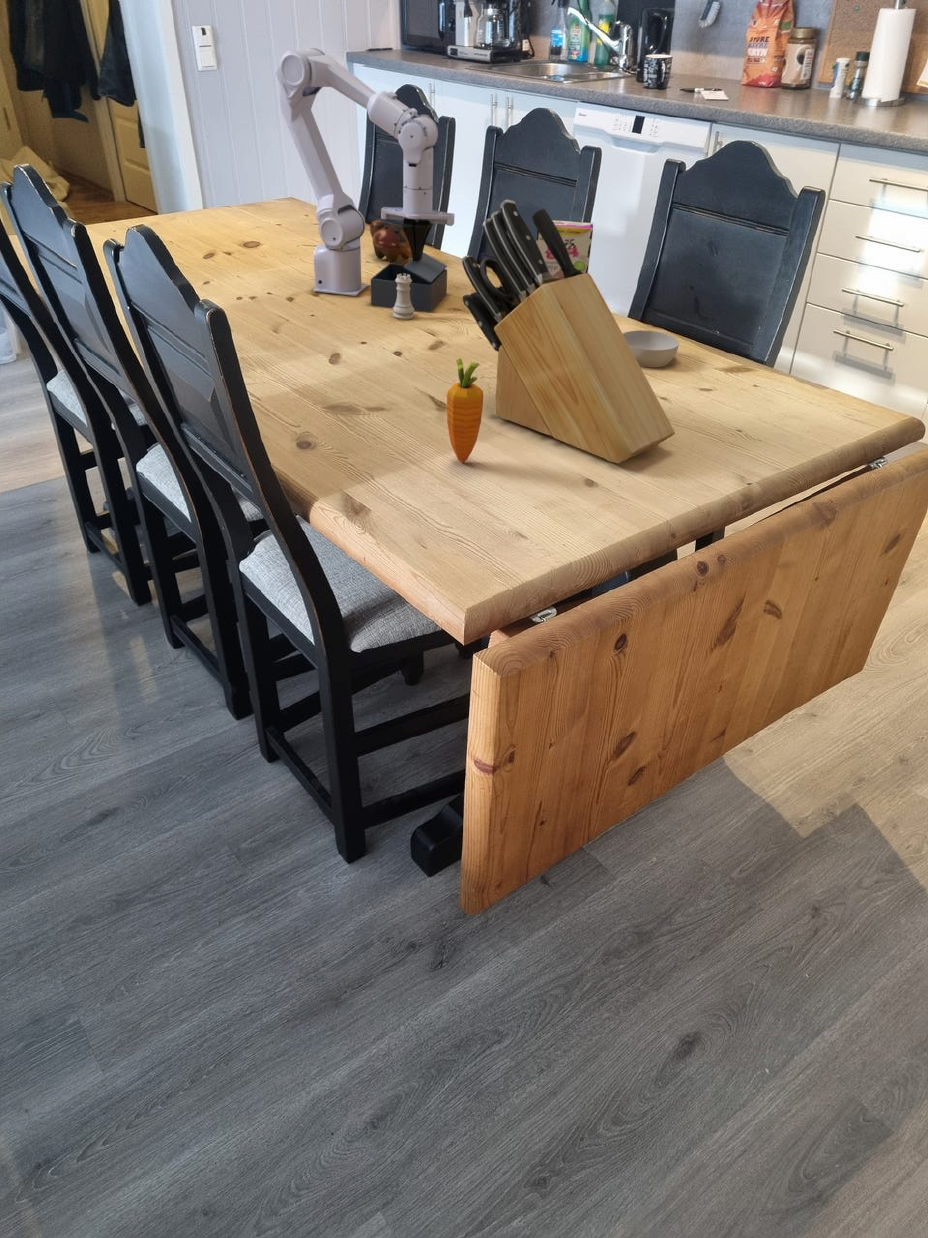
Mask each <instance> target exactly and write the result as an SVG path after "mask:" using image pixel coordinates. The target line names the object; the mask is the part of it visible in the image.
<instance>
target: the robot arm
mask: <svg viewBox="0 0 928 1238" xmlns="http://www.w3.org/2000/svg"><path fill="white" fill-rule="evenodd" d="M275 75H276V77H277V80H278V83H279V102H280V105H279V106H280V110H281V113H282V115H283V118H284V121H285V123H286V126H287V128H288V132H289V134H290V135H291V138H292V140H293V144H294V145H295V148H296V150H297V153H298V155H299V158H300V161H301V162H302V165H303V167H304V171H305V173H306V175H307V178H308V180H309V183H310V185H311V187H312V189H313V190H312V191H313V192H314V194H315V197H316V200H317V206H316V211H315V216H316V219H317V222H318V234H319V237H320V239H321V241H322V243H319V244H317V245H316V246H315V248H314V252H313V273H314V274H313V275H314V288H313V292H316V293H325V294H332V295H333V294H334V295H343V296H350V297H351V296H352V297H357V296H358V295H360V294H361V293H362V292H363V291H364V290H366V289H367V288H368V287H369V284H368V283H362V251H361V250H362V248H361V237H363V235H364V233H365V231H366V220H365V217H364V215H363V214H362V212H360V210H359V209H358V208H357V207H356V205H355V203H354V200H353V199H352V197H350V196H349V195H348V194H347V193H345V192H344V191H343V187H342V185H341V182H340V180H339V177H338V175H337V173H336V170H335V167H334V164H333V162H332V160H331V157H330V153H329V152H328V150H327V146H326V144H325V142H324V140H323V137H322V134H321V131H320V129H319V127H318V124H317V122H316V118H315V117H314V114H313V111H312V107H313V105H314V102H315V100H316V97H317V95H318V94H319V92H320V91H321V90H322V89H323V88H332V89H334V90H335V91H337V92H339V94H341V95H343V96H345V97H346V98H348V99H350V100H351V101H352V102H354V103H356V104H357V105H359V106H361V107H362V108H364V109H365V110H366V111H367V115H368V119H369V121H371V122H372V123H374V124H375V125H376V126H377V127H379V128H380V129H382V130H383V131H385V132H386V133H388V135H391V136H392V137H393V138H394V139H396V140H397V141H398V144H399V146H400V148H401V149H402V153H403V163H402V166H403V168H402V171H403V172H402V181H403V183H402V184H403V185H402V194H403V195H402V207H397V206H396V207H394V206H392V207H390V206H383V207H382V208H381V209H380V219H381V220H396V221H403V223H402V224H401V226H402V229H403V231H404V233H405V235H406V237H407V239H408V242H409V245H410V249H411V253H412V258H413V261H420V260H421V259H422V254H423V253H424V250H425V245H426V242H427V239H428V237H429V234H430V232H431V230H432V228H433V226H434V224H437V225H446V226H447V227H448V226H449V227H452V226H454V225H455V213H453V212H445V211H441V210H436V209H433V196H434V195H433V193H434V191H433V189H434V188H433V187H434V146H435V145H436V143H437V141H438V138H439V129H438V126H437V123H436V122H435V121H434V120H433V119H432V118H431V117H430V115H428V114H419V115H418V110H417V109H416V108H414V107H412V108H411V107H408V106H407V105H406V104H405V103H403V102H401V101H400V100H398V99H397V97H398V94H397V93H395V92H393V91H389V92H387V91H386V90H383V91H380V92H376V91H374V90H373V89H372V88H371V87H370V86H369V85H367V84H366V83H364V82H363V81H362V80H361V79H359V78H358V77H357V76H356V75H354V74H353V73H352V72H350V71H349V70H348V69H346V67H345V66H343V65H342V64H341V63H339V62H338V61H337V59H336V58H335V57H333V56H331V55H329V54H327V53H325V52H324V51H323V50H322V49H320V48H318V47H311V48H309V49H302V50H301V49H300V50H288V51H285V52H284V54H283V55H282V56H281V58H280V59H279V62H278V64H277V68H276V71H275ZM412 258H411V259H412Z"/></svg>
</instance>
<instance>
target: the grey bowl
mask: <svg viewBox="0 0 928 1238" xmlns="http://www.w3.org/2000/svg"><path fill="white" fill-rule="evenodd" d="M622 334H623V335H624V337H625V339H626V341H627V343H628V345H629V347H630V349H631V350H632V352H633V354H634V356H635V358H636V360H637V362H638V364H639V365H640V367H641V368H642V367H643V368H661V367H665V366H667V365H669V364H670V362H671V361H672V360H673V359H674V358H675V356H676V354H677V353H678V350H679V345H680V341H679V339H677V338H676V337H675V336H672V335H670V334H667V333H665V332H660V331H655V330H645V329H644V330H642V329H640V330H629V331H626V332H622Z"/></svg>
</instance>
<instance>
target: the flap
mask: <svg viewBox="0 0 928 1238" xmlns="http://www.w3.org/2000/svg"><path fill="white" fill-rule="evenodd" d="M404 265H405V266H404V267H403V268H405V269H407V270H408V271H410V272H412V273H414V274H415V275H417V276H419V277H421V278H423V279H424V280H426V281H428V282H430V283H431V282H432V281H433V280H434V279H435V278H436V277H437V276H438V275H439V274H440V273H441V272H442V271H443V270H444V269H447V267H448V265H446V264H445V263H443V262H441V261H439V260H437V259H436V258H434V257H432V256H430V255H429V254H427V253H426V252H423V254H422V259H421V260H420V261H413V259H412V258H411V259H410V260H409V261H408V262H407V263H405V264H404Z"/></svg>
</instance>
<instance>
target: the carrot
mask: <svg viewBox="0 0 928 1238" xmlns="http://www.w3.org/2000/svg"><path fill="white" fill-rule="evenodd" d="M455 361H456V364H457V375H458V379H459V382H457V383H454V384H453V385H452V386H451V387H450V388H449V389H448V390H447V393H446V423H447V430H448V435H449V440H450V444H451V447H452V450H453V452H454V454H455V456H456V458H457V460H458V461H459V462H460V463H461V464H465V462H467V460H468V459H469V457H470V455H471V454H472V452H473V450H474V448H475V446H476V443H477V440H478V436H479V433H480V428H481V423H482V418H483V417H482V416H483V407H484V391H483V389H482V388H481V387H479V385H477V384H475V382H476V381H477V380H478V377H477V376H472V375H473V373H474V372H475V370H476V369H477V368H478V367H479V366H480V365H481V364H480V363H478V362H475V361H470V363H469V364H468V365H467V368H466V370H465V369H464V363H463V360H462V358H461V357H460V358H459V357H458V358H456V360H455Z"/></svg>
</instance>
